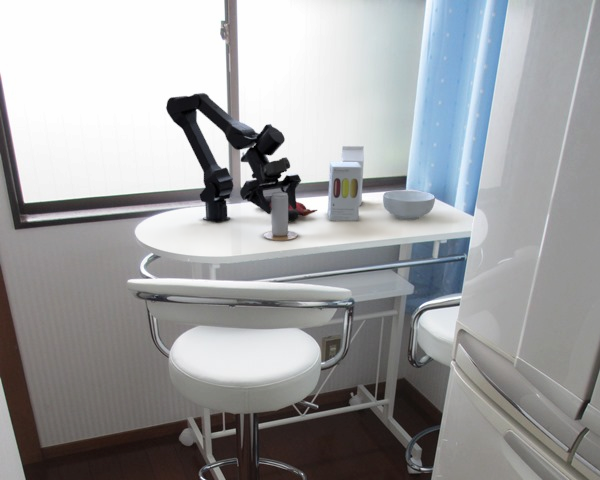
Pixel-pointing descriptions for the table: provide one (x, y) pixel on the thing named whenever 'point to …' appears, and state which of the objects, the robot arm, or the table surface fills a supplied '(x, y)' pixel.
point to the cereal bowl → (408, 203)
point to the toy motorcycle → (291, 212)
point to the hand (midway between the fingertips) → (282, 211)
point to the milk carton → (354, 160)
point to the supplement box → (344, 191)
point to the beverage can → (279, 214)
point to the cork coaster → (284, 238)
